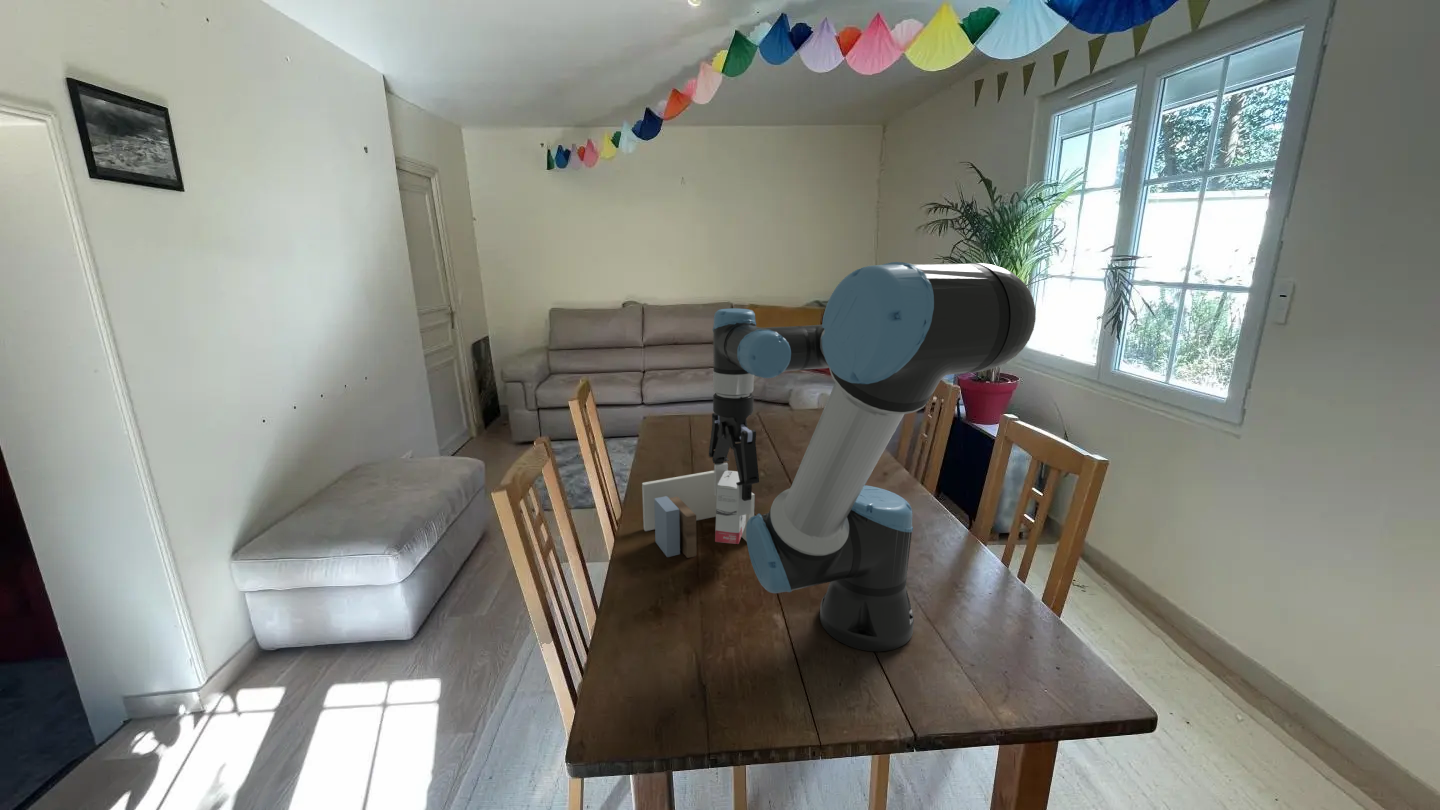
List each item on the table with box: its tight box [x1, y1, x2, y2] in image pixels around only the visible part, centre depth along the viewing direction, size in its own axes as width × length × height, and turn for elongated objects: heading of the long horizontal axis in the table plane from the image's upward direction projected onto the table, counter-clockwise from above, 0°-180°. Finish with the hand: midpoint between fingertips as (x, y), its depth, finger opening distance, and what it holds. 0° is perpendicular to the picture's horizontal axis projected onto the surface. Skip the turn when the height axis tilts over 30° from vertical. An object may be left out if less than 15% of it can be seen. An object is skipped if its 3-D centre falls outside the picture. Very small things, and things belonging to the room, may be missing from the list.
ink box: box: [714, 470, 746, 545], centre depth 115 cm, size 9×5×12 cm, turn 169°
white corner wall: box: [641, 470, 756, 558], centre depth 125 cm, size 16×19×11 cm
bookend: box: [669, 496, 697, 559], centre depth 121 cm, size 10×2×9 cm, turn 26°
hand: (731, 503), depth 115 cm, fingers closed on ink box, 9 cm apart
